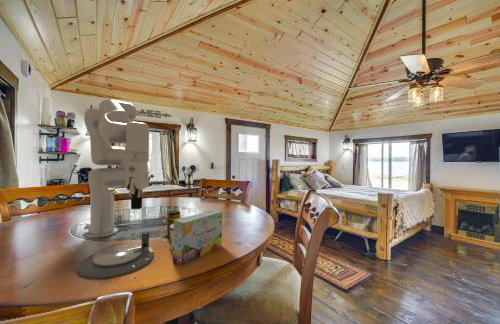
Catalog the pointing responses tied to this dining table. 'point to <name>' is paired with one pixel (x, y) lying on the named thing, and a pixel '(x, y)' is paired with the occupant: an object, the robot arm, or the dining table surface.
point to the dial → (121, 254)
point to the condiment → (170, 220)
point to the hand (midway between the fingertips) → (136, 208)
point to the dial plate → (92, 271)
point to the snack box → (196, 236)
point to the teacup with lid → (171, 236)
